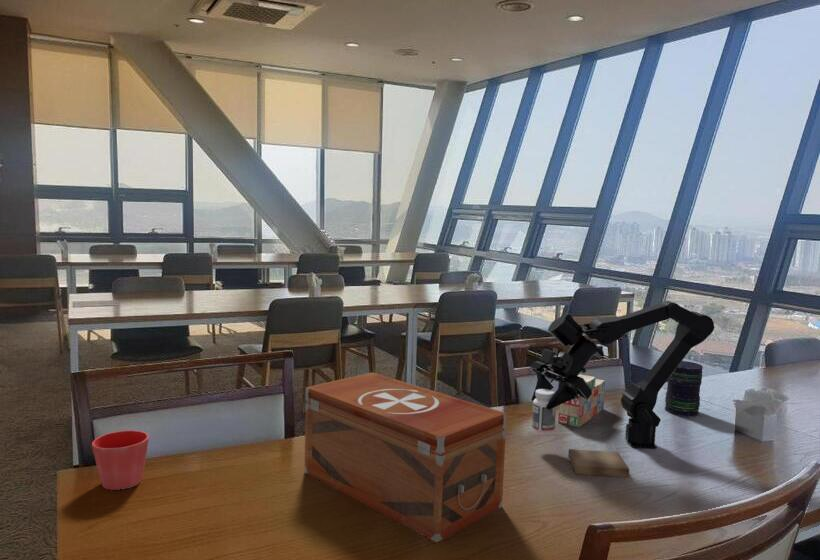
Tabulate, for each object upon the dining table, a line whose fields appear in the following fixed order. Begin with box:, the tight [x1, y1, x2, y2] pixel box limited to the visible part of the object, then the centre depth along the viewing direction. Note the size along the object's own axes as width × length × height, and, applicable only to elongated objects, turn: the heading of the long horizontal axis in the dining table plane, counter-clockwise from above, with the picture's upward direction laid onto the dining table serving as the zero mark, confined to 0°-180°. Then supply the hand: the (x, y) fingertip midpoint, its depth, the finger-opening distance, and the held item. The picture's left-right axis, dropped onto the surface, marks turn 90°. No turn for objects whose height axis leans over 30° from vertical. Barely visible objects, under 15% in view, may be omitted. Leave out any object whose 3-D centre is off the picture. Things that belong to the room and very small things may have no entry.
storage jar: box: [664, 360, 703, 418], centre depth 191 cm, size 10×10×15 cm
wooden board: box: [567, 448, 630, 478], centre depth 148 cm, size 12×10×2 cm
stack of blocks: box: [557, 373, 606, 428], centre depth 184 cm, size 21×6×12 cm, turn 144°
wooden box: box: [304, 372, 507, 543], centre depth 132 cm, size 20×41×20 cm, turn 46°
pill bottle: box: [531, 389, 557, 434], centre depth 157 cm, size 6×6×10 cm
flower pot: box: [91, 430, 150, 491], centre depth 131 cm, size 11×11×10 cm
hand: (540, 404), depth 156 cm, fingers closed on pill bottle, 6 cm apart
